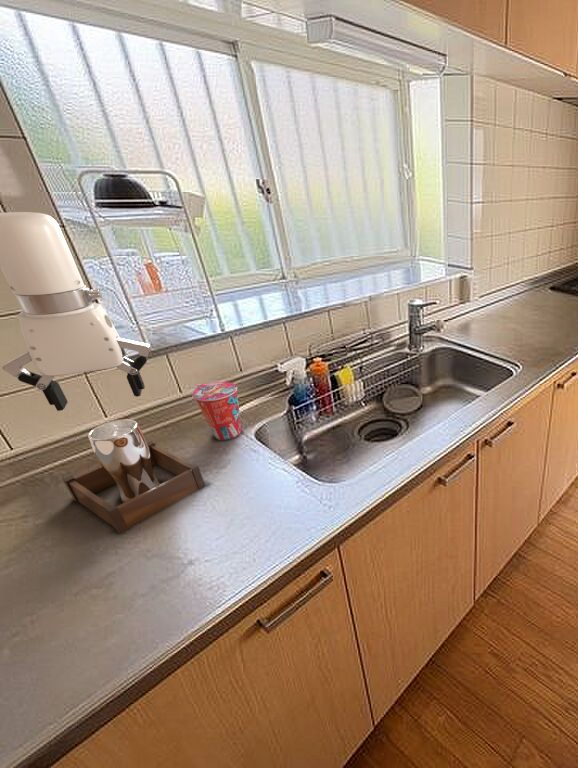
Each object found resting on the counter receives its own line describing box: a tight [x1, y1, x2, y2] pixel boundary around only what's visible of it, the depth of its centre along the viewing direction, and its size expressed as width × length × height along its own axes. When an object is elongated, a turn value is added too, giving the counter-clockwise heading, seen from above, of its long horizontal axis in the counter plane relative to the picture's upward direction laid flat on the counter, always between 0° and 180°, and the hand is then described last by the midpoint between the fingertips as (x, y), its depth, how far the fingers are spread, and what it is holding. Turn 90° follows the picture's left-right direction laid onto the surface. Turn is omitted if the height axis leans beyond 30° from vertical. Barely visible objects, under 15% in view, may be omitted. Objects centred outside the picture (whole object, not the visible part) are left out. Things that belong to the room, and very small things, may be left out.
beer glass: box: [87, 418, 161, 503], centre depth 77 cm, size 7×7×15 cm
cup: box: [191, 381, 242, 441], centre depth 96 cm, size 9×8×12 cm
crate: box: [62, 440, 206, 534], centre depth 79 cm, size 16×14×5 cm
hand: (102, 399), depth 71 cm, fingers open, 9 cm apart
